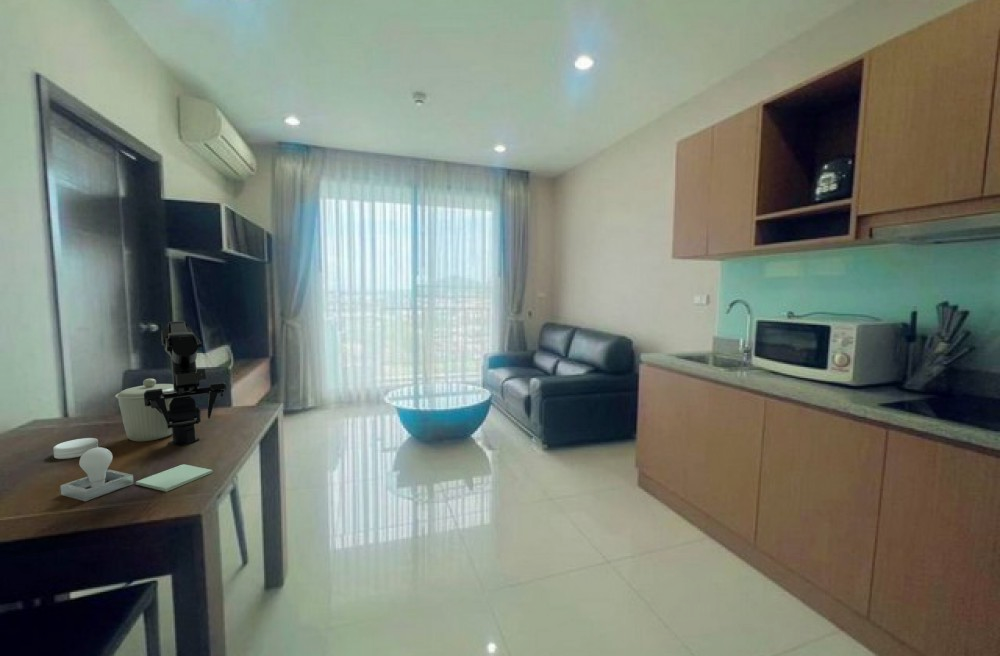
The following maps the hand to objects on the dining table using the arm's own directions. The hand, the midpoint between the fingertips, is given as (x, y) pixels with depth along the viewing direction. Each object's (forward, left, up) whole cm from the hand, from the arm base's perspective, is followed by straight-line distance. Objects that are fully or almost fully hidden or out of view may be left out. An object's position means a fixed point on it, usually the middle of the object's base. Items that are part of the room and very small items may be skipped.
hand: (189, 421), depth 115 cm
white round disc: (-49, -2, -15) cm, 51 cm away
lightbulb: (-12, -15, -15) cm, 25 cm away
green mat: (0, -4, -15) cm, 15 cm away
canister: (-43, +16, -15) cm, 48 cm away
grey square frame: (-12, -15, -15) cm, 25 cm away
